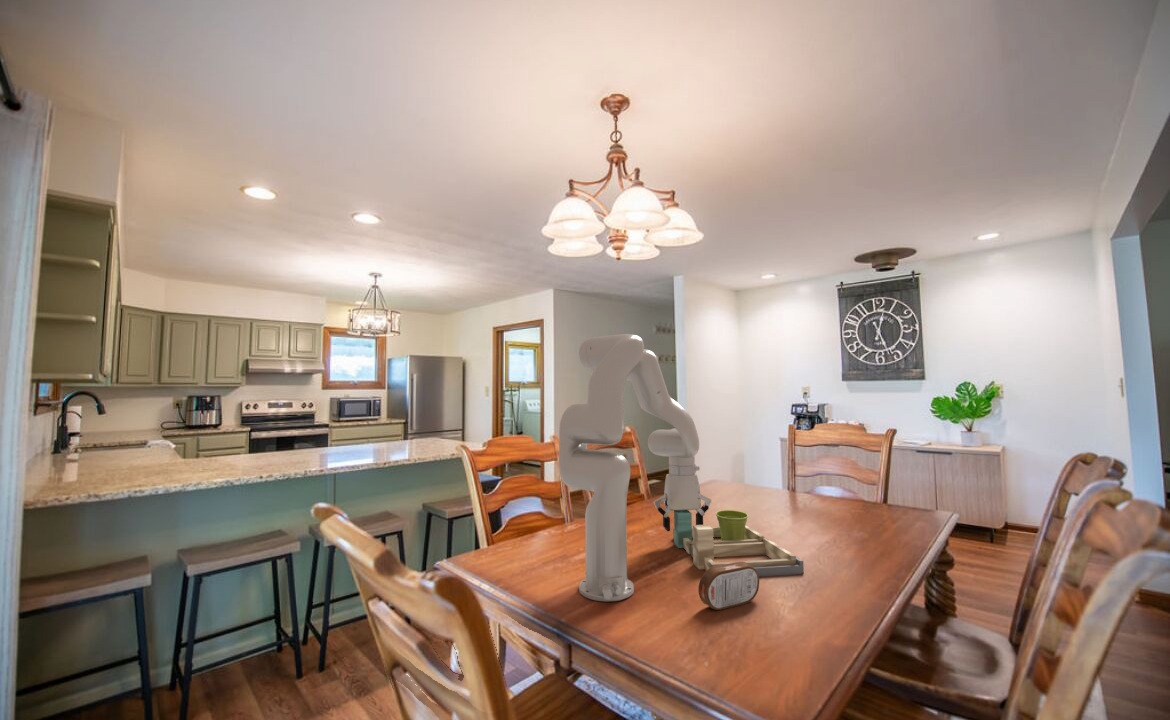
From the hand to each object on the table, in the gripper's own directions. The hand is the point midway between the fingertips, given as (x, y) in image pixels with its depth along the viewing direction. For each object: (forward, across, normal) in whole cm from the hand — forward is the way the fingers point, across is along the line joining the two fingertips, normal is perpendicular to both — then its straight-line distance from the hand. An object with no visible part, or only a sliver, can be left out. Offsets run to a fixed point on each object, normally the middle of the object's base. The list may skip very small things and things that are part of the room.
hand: (683, 529), depth 140 cm
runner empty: (+5, -10, +16) cm, 20 cm away
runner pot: (+5, -10, 0) cm, 11 cm away
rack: (+5, -10, +8) cm, 14 cm away
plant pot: (+5, -15, 0) cm, 16 cm away
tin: (+5, +3, +38) cm, 39 cm away
